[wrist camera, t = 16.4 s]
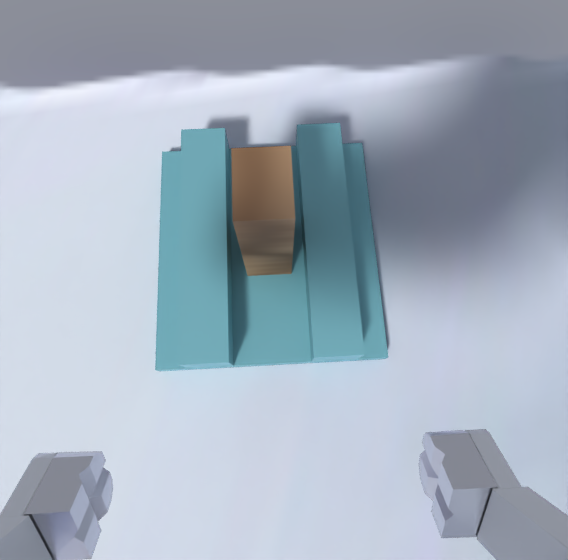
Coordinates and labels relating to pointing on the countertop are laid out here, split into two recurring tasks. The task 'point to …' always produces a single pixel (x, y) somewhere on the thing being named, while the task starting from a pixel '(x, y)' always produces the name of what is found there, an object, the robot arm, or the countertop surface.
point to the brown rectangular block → (264, 208)
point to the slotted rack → (267, 288)
